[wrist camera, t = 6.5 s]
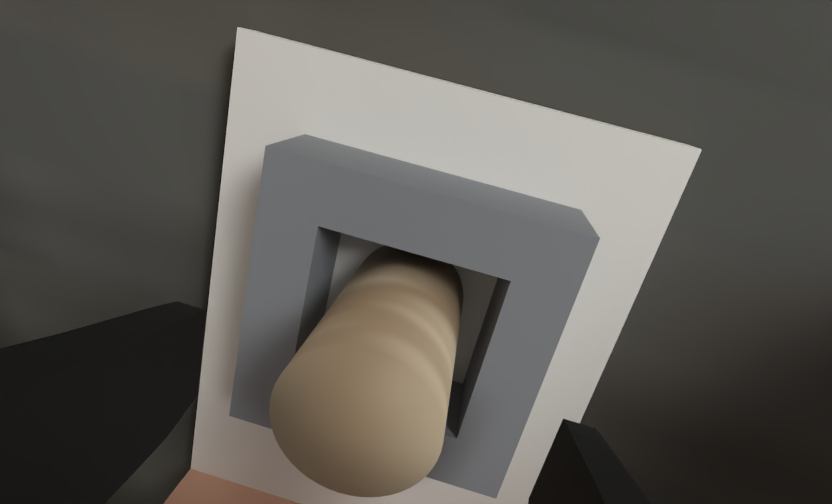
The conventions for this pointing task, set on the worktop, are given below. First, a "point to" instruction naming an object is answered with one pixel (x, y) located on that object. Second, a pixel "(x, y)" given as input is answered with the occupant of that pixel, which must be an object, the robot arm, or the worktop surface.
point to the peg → (374, 378)
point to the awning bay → (427, 236)
